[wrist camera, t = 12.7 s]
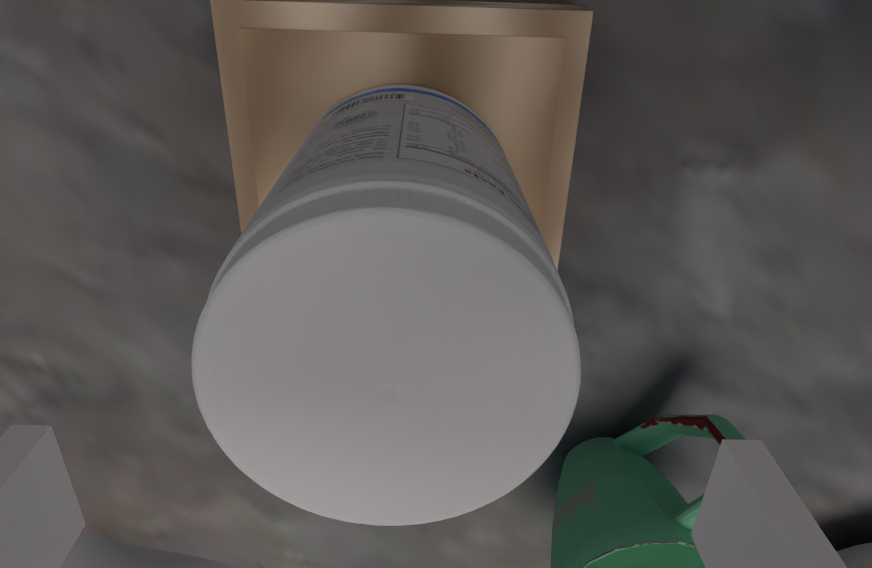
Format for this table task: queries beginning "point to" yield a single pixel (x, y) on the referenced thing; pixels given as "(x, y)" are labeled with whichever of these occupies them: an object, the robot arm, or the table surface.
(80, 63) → the table surface
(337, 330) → the supplement tub
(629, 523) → the mug
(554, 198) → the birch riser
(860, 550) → the cereal bowl
